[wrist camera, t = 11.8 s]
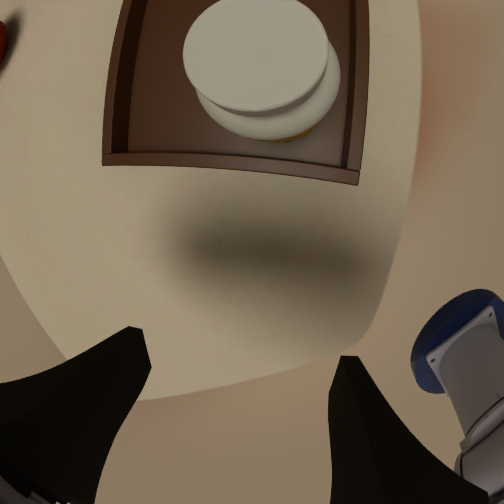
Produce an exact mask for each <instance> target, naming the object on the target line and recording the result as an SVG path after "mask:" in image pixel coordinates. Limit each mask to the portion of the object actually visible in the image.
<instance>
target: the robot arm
mask: <svg viewBox="0 0 504 504" xmlns="http://www.w3.org/2000/svg"><path fill="white" fill-rule="evenodd" d="M426 360H427V362H428V363H429V365H430V367H431V368H432V370H433V372H434V373H435V375H436V377H437V378H438V380H439V382H440V384H441V385H442V387H443V389H444V391H445V392H446V394H447V396H448V397H450V399H451V401H452V404H453V406H454V409H455V411H456V414H457V416H458V419H459V421H460V424H461V427H462V430H463V432H464V435H465V439H464V440H463V441H461V442H460V447H461V450H462V452H461V453H460V454H459V455H458V457H457V459H456V462H455V467H454V471H452V470H451V469H450V468H448V467H447V466H446V465H445V464H443V463H442V462H441V461H440V460H438V459H437V458H436V457H435V456H434V455H433V454H432V453H431V452H430V451H429V450H427V449H426V448H425V447H424V446H423V445H422V444H421V443H420V442H419V440H418V439H417V438H416V437H415V436H414V435H413V434H412V433H411V432H410V431H409V429H408V428H407V427H406V426H405V425H404V423H403V422H402V421H401V420H400V418H399V417H398V416H397V415H396V413H395V412H394V410H393V409H392V408H391V406H390V405H389V403H388V402H387V401H386V399H385V398H384V396H383V395H382V394H381V392H380V390H379V389H378V387H377V386H376V384H375V383H374V381H373V380H372V378H371V376H370V375H369V373H368V371H367V370H366V368H365V367H364V365H363V363H362V362H361V360H360V358H359V357H358V356H341V357H340V360H339V364H338V367H337V370H336V373H335V376H334V379H333V382H332V385H331V388H330V391H329V400H328V423H329V435H330V447H331V461H332V487H331V499H330V504H504V340H503V339H502V338H501V336H500V333H499V329H498V325H497V321H496V317H495V313H494V309H493V307H492V306H491V305H488V306H486V307H485V308H484V309H483V310H482V311H481V312H480V313H479V314H478V315H476V316H475V317H474V318H473V319H472V320H470V321H469V322H468V323H467V324H466V325H464V326H463V327H462V328H461V329H459V330H458V331H457V332H456V333H454V334H453V335H452V336H451V337H449V338H448V339H447V340H445V341H444V342H443V343H441V344H440V345H438V346H437V347H436V348H434V349H433V350H432V351H430V352H429V353H428V354H427V355H426ZM151 368H152V367H151V363H150V359H149V356H148V352H147V348H146V343H145V339H144V335H143V330H142V329H139V328H135V327H131V326H128V327H126V328H124V329H122V330H121V331H119V332H117V333H115V334H114V335H112V336H110V337H109V338H107V339H105V340H104V341H102V342H100V343H99V344H97V345H95V346H93V347H92V348H90V349H88V350H87V351H85V352H83V353H81V354H79V355H77V356H75V357H74V358H72V359H70V360H68V361H66V362H64V363H62V364H60V365H58V366H56V367H53V368H51V369H48V370H46V371H43V372H41V373H38V374H35V375H32V376H29V377H25V378H22V379H19V380H15V381H11V382H6V383H0V504H55V503H56V502H59V503H60V504H67V502H69V503H70V504H94V502H95V497H96V492H97V488H98V484H99V480H100V477H101V473H102V470H103V467H104V464H105V461H106V459H107V456H108V453H109V451H110V448H111V446H112V443H113V441H114V438H115V436H116V434H117V432H118V430H119V428H120V427H121V425H122V423H123V422H124V420H125V418H126V417H127V415H128V413H129V412H130V410H131V408H132V406H133V405H134V403H135V401H136V400H137V398H138V396H139V395H140V393H141V391H142V389H143V387H144V385H145V383H146V380H147V378H148V375H149V373H150V370H151Z"/></svg>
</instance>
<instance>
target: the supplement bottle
mask: <svg viewBox="0 0 504 504" xmlns="http://www.w3.org/2000/svg"><path fill="white" fill-rule="evenodd" d="M183 62H184V67H185V71H186V74H187V76H188V78H189V80H190V82H191V83H192V85H193V86H194V87H195V88H196V92H197V95H198V98H199V100H200V102H201V104H202V106H203V108H204V109H205V110H206V112H207V113H208V114H209V115H210V117H211V118H212V119H214V120H215V121H216V122H217V123H218V124H219V125H221V126H222V127H224V128H225V129H227V130H229V131H231V132H233V133H235V134H237V135H240V136H242V137H245V138H249V139H255V140H260V141H265V142H270V143H286V142H291V141H294V140H297V139H299V138H301V137H303V136H305V135H306V134H308V133H310V132H311V131H312V130H313V129H314V128H315V127H316V126H317V125H318V124H319V122H320V121H321V120H322V119H323V118H324V116H325V115H326V114H327V112H328V111H329V110H330V108H331V107H332V105H333V103H334V101H335V99H336V97H337V94H338V90H339V86H340V65H339V61H338V57H337V55H336V52H335V50H334V48H333V46H332V45H331V43H330V42H329V40H328V38H327V34H326V31H325V29H324V27H323V25H322V23H321V22H320V20H319V19H318V17H317V16H316V15H315V14H314V13H313V12H312V11H311V10H310V9H309V8H308V7H306V6H305V5H304V4H302V3H300V2H299V1H297V0H220V1H218V2H216V3H215V4H213V5H212V6H210V7H209V8H207V9H206V10H205V11H204V12H203V13H202V14H201V15H200V16H199V17H198V18H197V19H196V21H195V22H194V23H193V25H192V26H191V28H190V29H189V32H188V34H187V36H186V39H185V42H184V48H183Z"/></svg>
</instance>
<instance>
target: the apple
mask: <svg viewBox="0 0 504 504" xmlns="http://www.w3.org/2000/svg"><path fill="white" fill-rule="evenodd" d="M6 46H7V38H6V28H5V25H4V23H3V22H1V21H0V62H1V61H2V59H3V56H4V54H5V50H6Z"/></svg>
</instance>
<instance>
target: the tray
mask: <svg viewBox="0 0 504 504" xmlns="http://www.w3.org/2000/svg"><path fill="white" fill-rule="evenodd" d="M218 1H220V0H123V4H122V7H121V11H120V15H119V19H118V23H117V28H116V32H115V37H114V42H113V47H112V53H111V58H110V64H109V71H108V78H107V86H106V95H105V105H104V118H103V136H102V166H178V167H199V168H216V169H229V170H241V171H252V172H262V173H271V174H280V175H289V176H296V177H304V178H311V179H318V180H325V181H331V182H337V183H343V184H349V185H355V186H358V184H359V177H360V172H359V171H360V169H361V162H362V154H363V145H364V136H365V126H366V114H367V101H368V84H369V48H370V38H369V4H368V0H297V1H299V2H300V3H302V4H304V5H305V6H306V7H308V8H309V9H310V10H311V11H312V12H313V13H314V14H315V15H316V16H317V17H318V19H319V20H320V22H321V23H322V25H323V27H324V29H325V31H326V34H327V38H328V40H329V42H330V43H331V45H332V46H333V48H334V50H335V52H336V55H337V57H338V61H339V65H340V86H339V90H338V94H337V97H336V99H335V101H334V103H333V105H332V107H331V108H330V110H329V111H328V112H327V114H326V115H325V116H324V118H323V119H322V120H321V121H320V122H319V124H318V125H317V126H316V127H315V128H314V129H313V130H312V131H311V132H310V133H308V134H306V135H305V136H303V137H301V138H299V139H297V140H294V141H291V142H286V143H270V142H265V141H260V140H255V139H249V138H245V137H242V136H240V135H237V134H235V133H233V132H231V131H229V130H227V129H225V128H224V127H222V126H221V125H219V124H218V123H217V122H216V121H215V120H214V119H212V118H211V117H210V115H209V114H208V113H207V112H206V110H205V109H204V108H203V106H202V104H201V102H200V100H199V98H198V95H197V92H196V88H195V87H194V86H193V85H192V83H191V82H190V80H189V78H188V76H187V74H186V71H185V67H184V62H183V48H184V42H185V39H186V36H187V34H188V32H189V29H190V28H191V26H192V25H193V23H194V22H195V21H196V19H197V18H198V17H199V16H200V15H201V14H202V13H203V12H204V11H205V10H206V9H207V8H209V7H210V6H212V5H213V4H215V3H216V2H218Z"/></svg>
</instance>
